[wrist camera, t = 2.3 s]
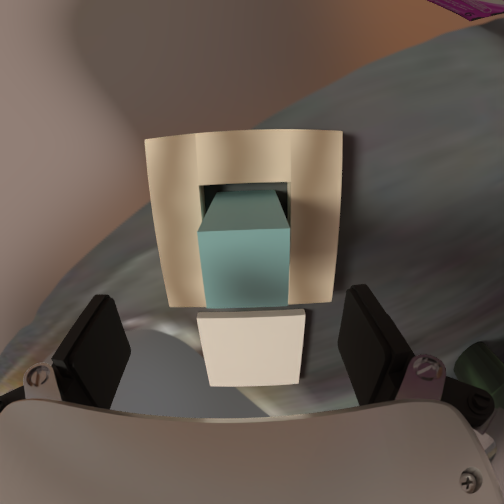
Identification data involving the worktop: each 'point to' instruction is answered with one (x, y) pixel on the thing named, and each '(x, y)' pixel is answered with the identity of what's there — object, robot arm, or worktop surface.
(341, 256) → the worktop surface
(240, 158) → the pocket base
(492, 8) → the candy bar box
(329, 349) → the worktop surface
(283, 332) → the tile
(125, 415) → the robot arm
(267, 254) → the teal block
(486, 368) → the potion bottle
